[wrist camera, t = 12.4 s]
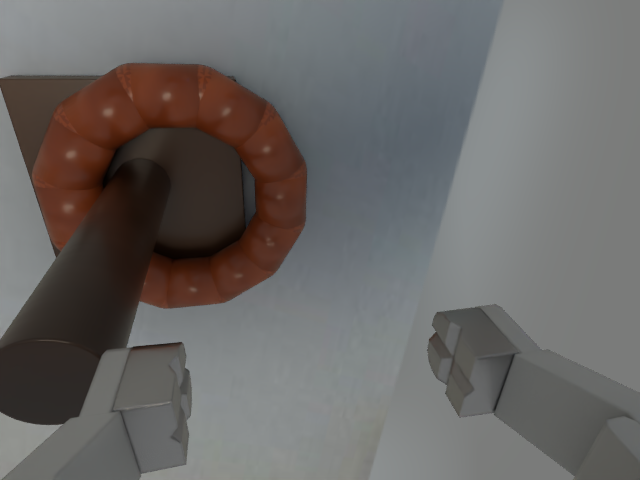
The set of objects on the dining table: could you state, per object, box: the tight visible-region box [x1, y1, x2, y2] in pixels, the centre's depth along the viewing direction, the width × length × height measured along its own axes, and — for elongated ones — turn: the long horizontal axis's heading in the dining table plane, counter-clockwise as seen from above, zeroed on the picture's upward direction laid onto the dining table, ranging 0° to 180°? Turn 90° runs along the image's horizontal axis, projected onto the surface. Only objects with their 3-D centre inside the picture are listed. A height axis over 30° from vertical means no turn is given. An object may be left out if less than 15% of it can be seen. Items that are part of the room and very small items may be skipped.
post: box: [0, 76, 246, 425], centre depth 14 cm, size 9×9×13 cm
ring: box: [32, 63, 307, 308], centre depth 18 cm, size 11×11×2 cm
